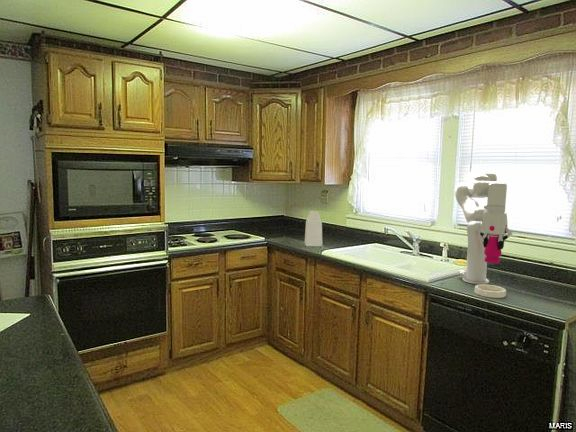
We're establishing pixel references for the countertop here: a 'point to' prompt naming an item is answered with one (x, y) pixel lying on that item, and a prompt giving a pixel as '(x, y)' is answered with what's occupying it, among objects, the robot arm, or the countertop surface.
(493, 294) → the ring holder
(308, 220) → the milk
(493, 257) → the pepper mill
